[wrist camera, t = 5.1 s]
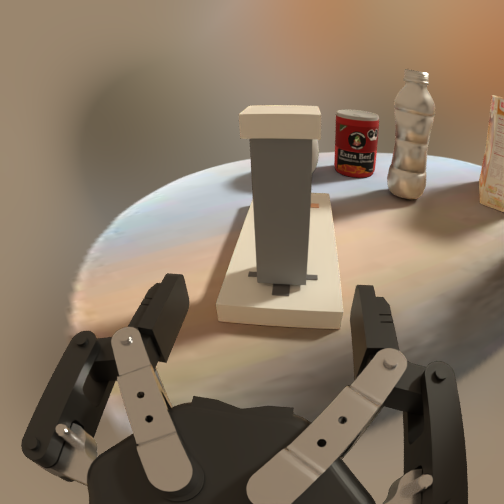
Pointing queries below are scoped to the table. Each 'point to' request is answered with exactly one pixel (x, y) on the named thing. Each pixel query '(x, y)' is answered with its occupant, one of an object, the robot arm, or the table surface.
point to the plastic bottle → (411, 136)
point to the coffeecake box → (494, 159)
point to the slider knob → (281, 187)
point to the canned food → (356, 143)
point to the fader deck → (285, 295)
